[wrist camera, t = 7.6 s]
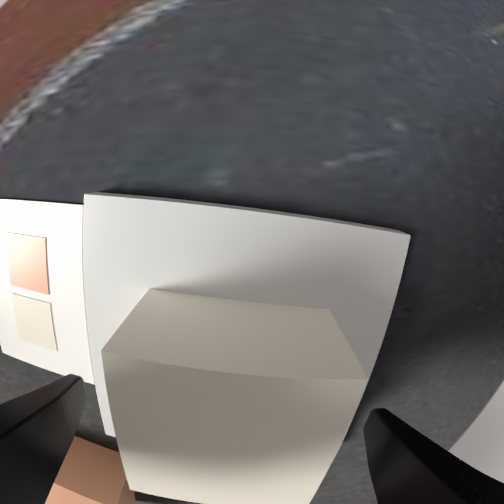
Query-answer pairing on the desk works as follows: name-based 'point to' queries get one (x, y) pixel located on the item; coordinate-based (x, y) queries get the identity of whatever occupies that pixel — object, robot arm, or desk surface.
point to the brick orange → (91, 477)
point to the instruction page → (44, 286)
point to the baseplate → (235, 266)
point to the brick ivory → (229, 398)
